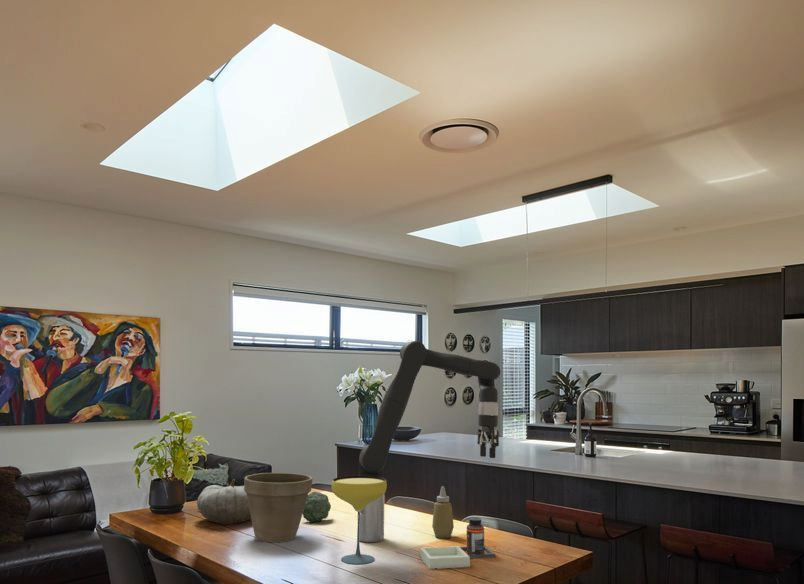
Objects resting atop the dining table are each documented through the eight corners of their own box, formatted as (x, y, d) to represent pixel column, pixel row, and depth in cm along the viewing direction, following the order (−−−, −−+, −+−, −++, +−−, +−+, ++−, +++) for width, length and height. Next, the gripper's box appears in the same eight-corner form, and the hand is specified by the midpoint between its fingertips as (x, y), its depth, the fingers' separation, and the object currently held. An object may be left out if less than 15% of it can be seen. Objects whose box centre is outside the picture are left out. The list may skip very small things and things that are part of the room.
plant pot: (323, 534, 232) (325, 474, 236) (284, 549, 210) (287, 484, 214) (269, 527, 243) (271, 470, 246) (226, 541, 221) (230, 478, 224)
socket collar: (465, 558, 202) (465, 555, 202) (456, 550, 212) (456, 546, 212) (495, 557, 204) (495, 553, 204) (485, 548, 214) (485, 545, 214)
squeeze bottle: (452, 539, 226) (452, 489, 228) (430, 538, 227) (430, 488, 230) (454, 534, 233) (454, 485, 236) (433, 533, 235) (433, 484, 238)
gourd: (225, 524, 234) (226, 477, 240) (181, 527, 246) (183, 482, 252) (272, 520, 254) (271, 476, 260) (229, 523, 267) (230, 481, 272)
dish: (429, 568, 190) (429, 558, 191) (420, 557, 203) (420, 547, 203) (469, 566, 193) (469, 556, 193) (458, 555, 205) (458, 546, 206)
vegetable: (326, 509, 267) (340, 499, 256) (312, 535, 258) (325, 525, 247) (304, 493, 266) (316, 481, 255) (288, 518, 257) (300, 507, 246)
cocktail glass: (325, 567, 191) (327, 483, 195) (334, 551, 209) (336, 475, 213) (383, 568, 190) (384, 484, 194) (387, 552, 208) (388, 476, 212)
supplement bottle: (465, 551, 211) (465, 516, 212) (482, 551, 211) (482, 516, 213) (468, 556, 205) (468, 520, 206) (486, 555, 205) (485, 520, 207)
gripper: (472, 413, 245) (471, 455, 242) (487, 413, 232) (486, 458, 229) (489, 414, 247) (488, 456, 244) (505, 414, 234) (504, 458, 231)
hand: (487, 457), depth 236 cm, fingers open, 8 cm apart
